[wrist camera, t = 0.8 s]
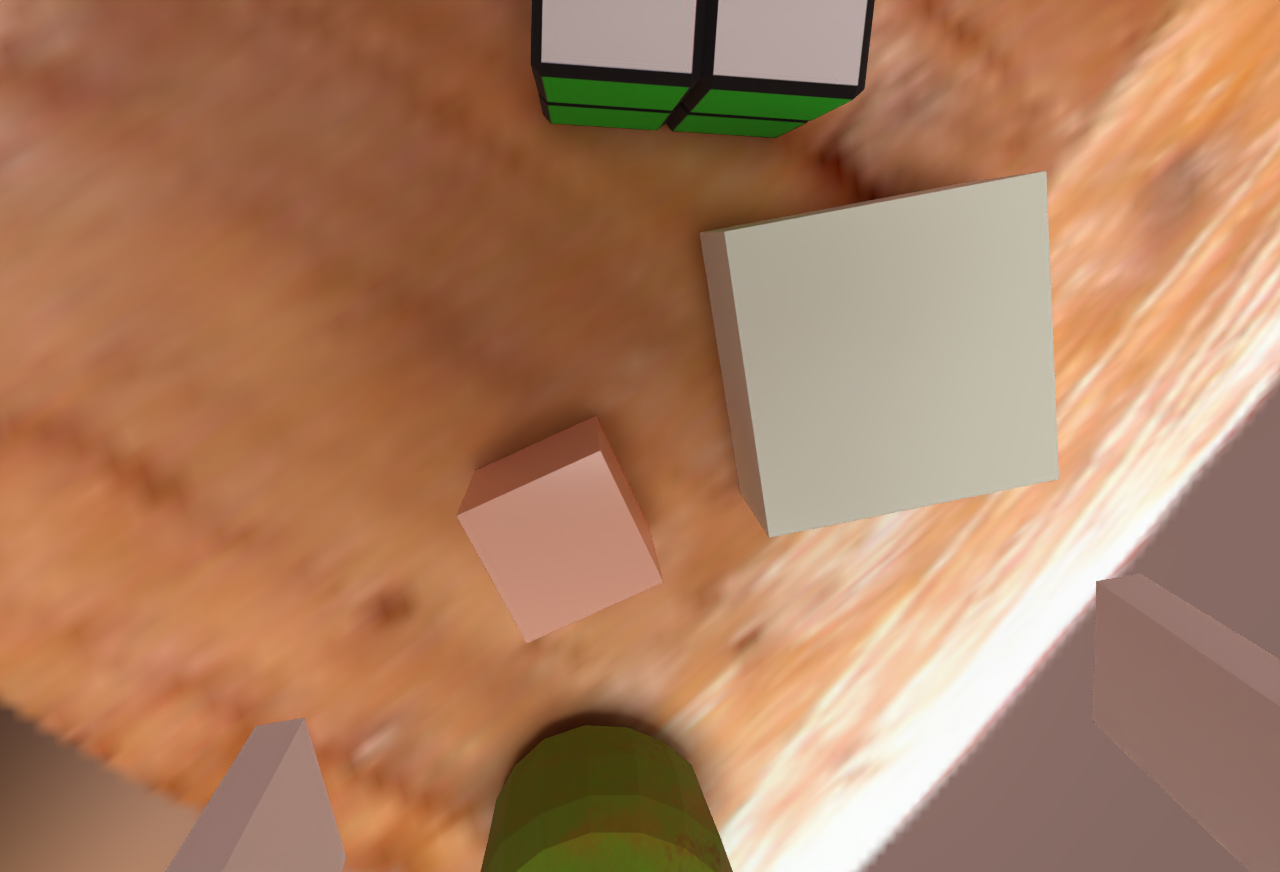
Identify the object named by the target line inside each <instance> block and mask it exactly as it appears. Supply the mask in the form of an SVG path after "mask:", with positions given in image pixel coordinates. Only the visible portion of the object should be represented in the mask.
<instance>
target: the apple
mask: <svg viewBox="0 0 1280 872" xmlns="http://www.w3.org/2000/svg"><path fill="white" fill-rule="evenodd" d="M481 872H733V871H732V868H731V866H730V863H729V860H728V857H727V855H726V852H725V849H724V846H723V844H722V841H721V838H720V835H719V833H718V830H717V828H716V826H715V823H714V821H713V818H712V816H711V813H710V811H709V808H708V806H707V803H706V801H705V798H704V796H703V793H702V791H701V788H700V786H699V783H698V780H697V778H696V775H695V773H694V770H693V768H692V765H691V764H689V763H688V762H687V761H686V760H685V759H684V758H682V757H681V756H680V755H679V754H678V753H677V752H675V751H674V750H673V749H672V748H671V747H670V746H668V745H667V744H666V743H665V742H664V741H661V740H659V739H656V738H654V737H651V736H648V735H646V734H643V733H641V732H638V731H636V730H633V729H631V728H628V727H614V726H589V725H584V726H581V727H578V728H575V729H572V730H569V731H566V732H563V733H560V734H557V735H554V736H552V737H549V738H546V739H544V740H542V741H541V742H540V743H539V744H538V745H537V746H536V747H535V748H534V749H533V750H532V751H531V752H529V753H528V754H527V755H526V756H525V757H524V758H523V759H522V760H521V761H520V762H519V763H518V764H516V765H515V766H514V768H513V770H512V772H511V774H510V775H509V777H508V779H507V781H506V783H505V785H504V787H503V789H502V791H501V792H500V794H499V796H498V798H497V800H496V805H495V810H494V815H493V819H492V824H491V829H490V834H489V839H488V843H487V847H486V851H485V855H484V860H483V864H482V868H481Z"/></svg>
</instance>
